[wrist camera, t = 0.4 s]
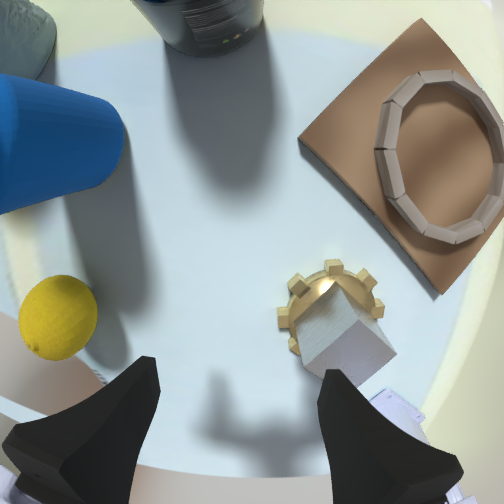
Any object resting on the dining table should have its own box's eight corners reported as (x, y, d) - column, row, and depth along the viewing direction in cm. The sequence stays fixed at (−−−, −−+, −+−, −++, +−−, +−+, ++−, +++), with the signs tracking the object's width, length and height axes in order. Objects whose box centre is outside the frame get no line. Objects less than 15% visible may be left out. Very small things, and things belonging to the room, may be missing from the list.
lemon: (126, 303, 21) (78, 366, 14) (88, 331, 22) (42, 389, 15) (82, 246, 20) (16, 290, 12) (49, 282, 21) (-9, 327, 13)
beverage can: (72, 92, 16) (-53, 68, 5) (142, 110, 17) (16, 71, 5) (48, 173, 18) (-77, 203, 7) (112, 199, 19) (-17, 254, 7)
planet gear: (396, 302, 21) (433, 346, 15) (325, 366, 23) (341, 421, 17) (332, 236, 19) (363, 270, 13) (254, 314, 21) (254, 370, 15)
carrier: (519, 174, 17) (539, 178, 15) (435, 289, 20) (451, 303, 18) (414, 22, 14) (430, 10, 11) (297, 138, 17) (304, 134, 15)
